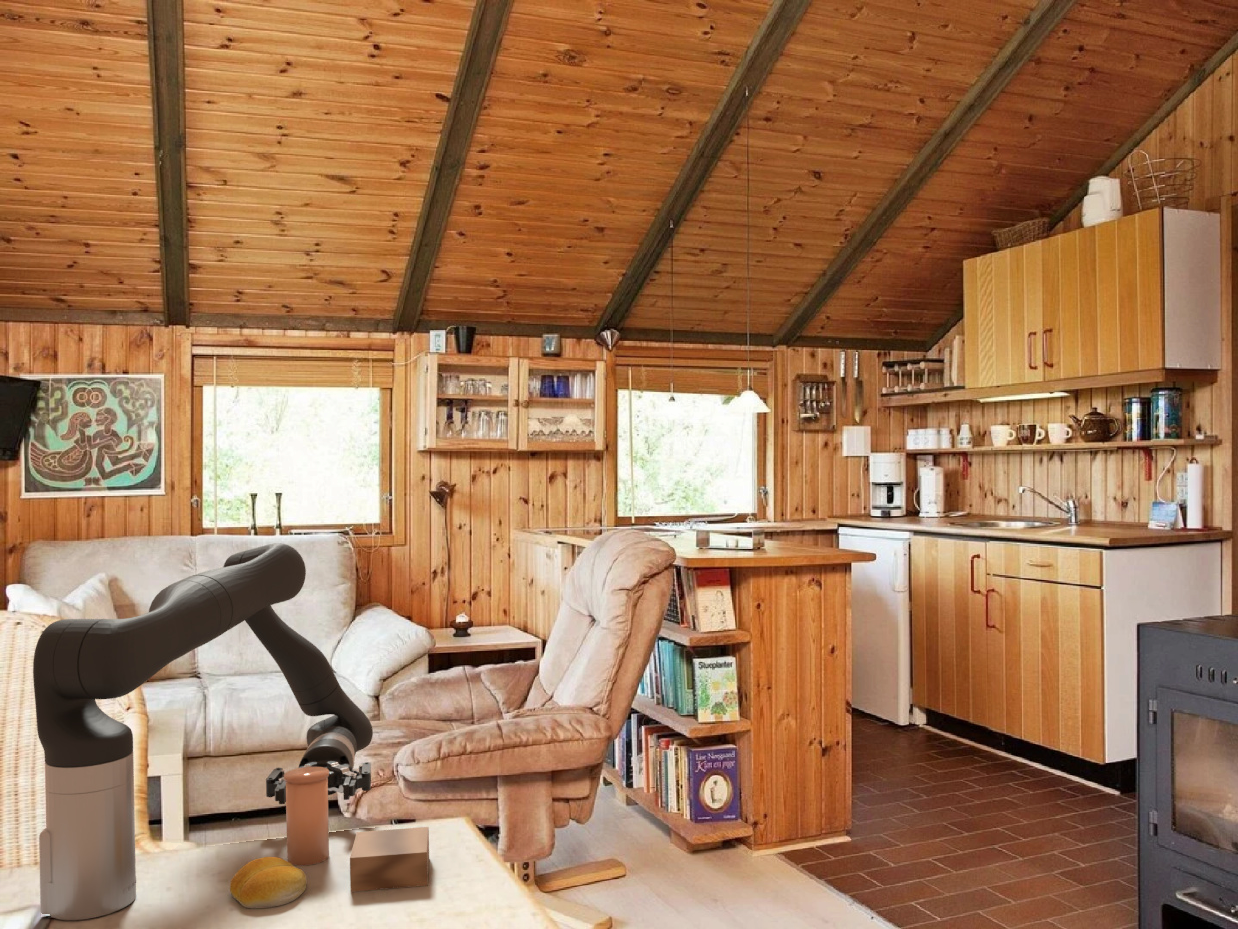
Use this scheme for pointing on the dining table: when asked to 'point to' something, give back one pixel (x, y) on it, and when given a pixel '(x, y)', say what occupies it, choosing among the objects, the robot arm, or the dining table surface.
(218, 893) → the dining table surface
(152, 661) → the robot arm
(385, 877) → the plinth
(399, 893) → the dining table surface
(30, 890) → the dining table surface
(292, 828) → the jar
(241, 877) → the bread roll
